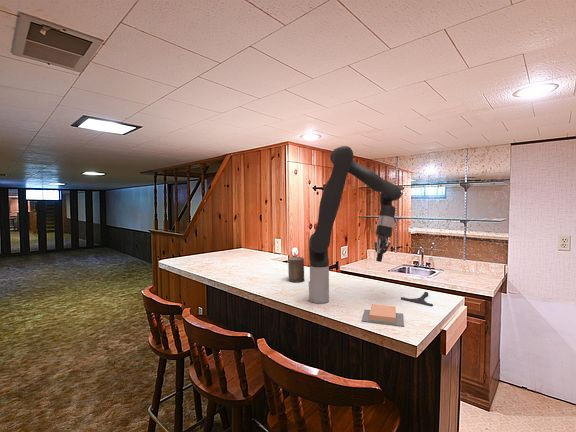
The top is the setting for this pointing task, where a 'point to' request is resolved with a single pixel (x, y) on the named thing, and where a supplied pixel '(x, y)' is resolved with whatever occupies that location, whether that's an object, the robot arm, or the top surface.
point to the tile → (383, 313)
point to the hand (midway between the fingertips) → (378, 261)
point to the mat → (398, 322)
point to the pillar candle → (296, 269)
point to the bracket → (419, 300)
